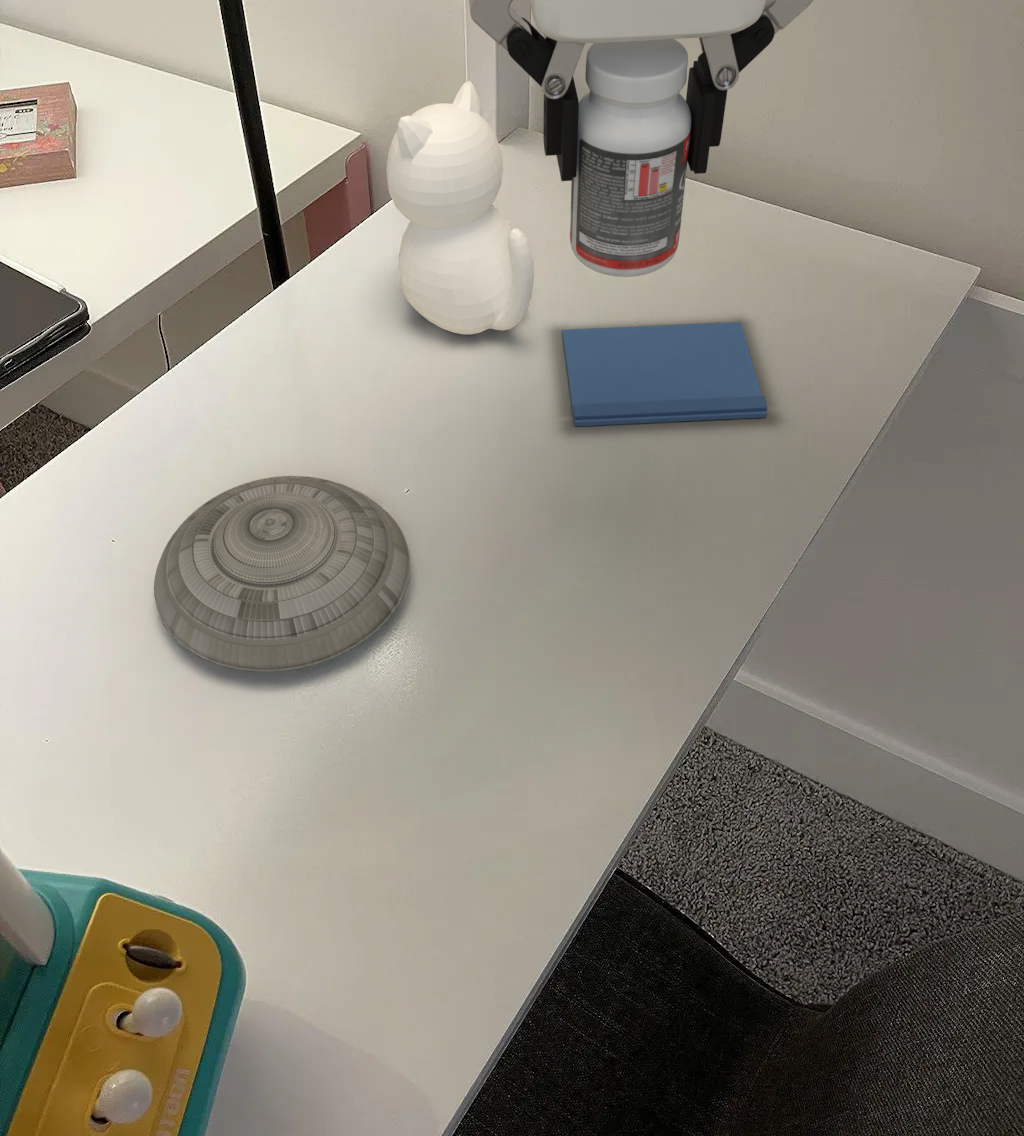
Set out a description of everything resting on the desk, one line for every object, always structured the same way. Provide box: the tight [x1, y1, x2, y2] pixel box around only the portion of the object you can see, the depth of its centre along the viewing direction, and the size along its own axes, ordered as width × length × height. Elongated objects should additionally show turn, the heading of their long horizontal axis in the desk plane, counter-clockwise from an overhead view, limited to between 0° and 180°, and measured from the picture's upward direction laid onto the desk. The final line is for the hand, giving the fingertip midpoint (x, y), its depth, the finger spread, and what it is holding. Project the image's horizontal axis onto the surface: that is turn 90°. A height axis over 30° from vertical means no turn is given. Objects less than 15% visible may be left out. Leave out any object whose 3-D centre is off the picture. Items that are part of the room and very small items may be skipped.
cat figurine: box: [386, 80, 535, 335], centre depth 77 cm, size 9×12×15 cm
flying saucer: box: [153, 475, 411, 673], centre depth 66 cm, size 15×15×6 cm
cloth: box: [561, 321, 768, 427], centre depth 79 cm, size 13×10×1 cm
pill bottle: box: [569, 39, 692, 278], centre depth 56 cm, size 6×6×10 cm
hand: (629, 159), depth 56 cm, fingers closed on pill bottle, 5 cm apart
